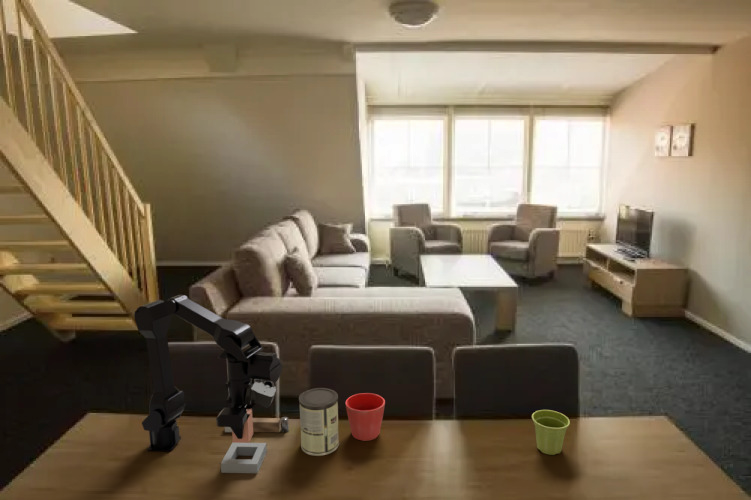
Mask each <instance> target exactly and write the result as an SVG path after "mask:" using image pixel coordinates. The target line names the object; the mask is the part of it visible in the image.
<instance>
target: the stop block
mask: <svg viewBox="0 0 751 500" xmlns="http://www.w3.org/2000/svg"><path fill="white" fill-rule="evenodd" d="M224 433H232V429H231V428H230V427H224Z"/></svg>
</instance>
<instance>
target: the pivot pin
mask: <svg viewBox="0 0 751 500" xmlns="http://www.w3.org/2000/svg"><path fill="white" fill-rule="evenodd" d="M289 423H290V422H289V417H288V416H282V417H281V418H280V432H281V433H287V432H289V429H290V428H289V427H290V426H289Z"/></svg>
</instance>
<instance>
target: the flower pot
mask: <svg viewBox="0 0 751 500" xmlns="http://www.w3.org/2000/svg"><path fill="white" fill-rule="evenodd" d="M344 405H345V409H346V414H347V418H348V423H349V428H350V431H351V435H352V437H353V438H354V439H356V440H359V441H364V442H365V441H367V442H368V441H373V440H375V439H377V438H378V437H379V435H380V432H381V428H382V422H383V418H384V411H385V405H386V400H385V398H383V397H382V396H381V395H379V394H376V393H372V392H365V393H364V392H363V393H362V392H361V393H355V394H353V395H351V396H349V397H348V398H347V399H346V400H345V404H344Z"/></svg>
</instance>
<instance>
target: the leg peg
mask: <svg viewBox="0 0 751 500" xmlns="http://www.w3.org/2000/svg"><path fill="white" fill-rule="evenodd" d="M246 411H247V414H250V416H249V418H248V419H247V421H246V422H245V423H244V431H243V438H242V439H238V438H237V437H236V435H235V434H234V432H233V431H232V432H231V435H232V443H250V441H251V439H252V437H253V436H254V432H253V418H254V417H253V408H252V409H247V410H246Z"/></svg>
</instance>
